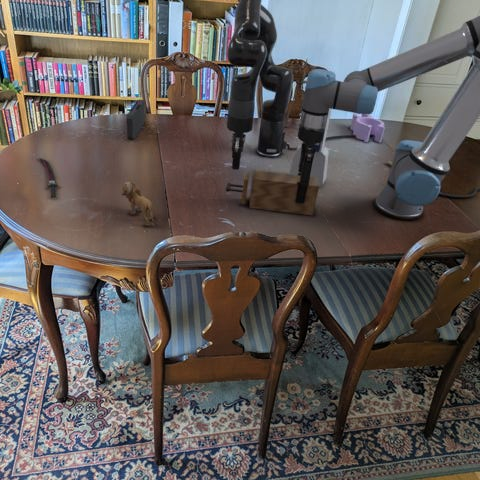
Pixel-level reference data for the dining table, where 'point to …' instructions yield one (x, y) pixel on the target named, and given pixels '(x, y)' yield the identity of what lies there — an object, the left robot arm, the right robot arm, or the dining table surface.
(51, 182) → the sword
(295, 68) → the miniature windmill
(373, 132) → the clip
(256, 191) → the cabinet
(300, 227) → the dining table surface
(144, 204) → the lion figurine
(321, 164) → the electronic device
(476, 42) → the right robot arm
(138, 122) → the handheld gaming console
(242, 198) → the drawer
